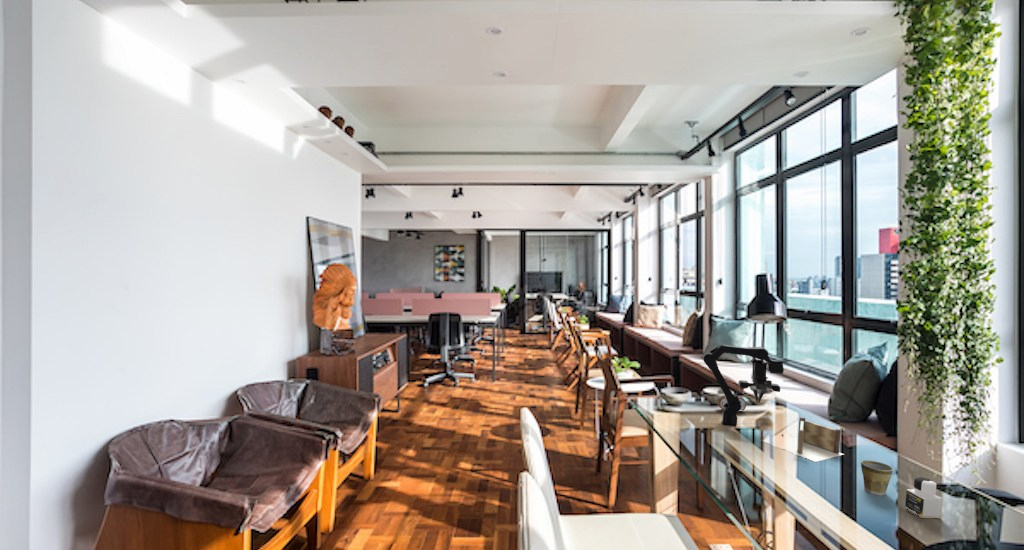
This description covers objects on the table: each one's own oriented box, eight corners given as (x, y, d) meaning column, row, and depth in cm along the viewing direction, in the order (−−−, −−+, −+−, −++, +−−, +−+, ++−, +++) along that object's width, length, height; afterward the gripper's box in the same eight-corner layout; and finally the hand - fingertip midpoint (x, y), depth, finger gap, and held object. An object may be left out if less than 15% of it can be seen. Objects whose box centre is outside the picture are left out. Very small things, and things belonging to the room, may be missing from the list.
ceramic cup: (892, 500, 192) (894, 473, 192) (859, 492, 197) (861, 466, 197) (889, 487, 203) (891, 462, 203) (858, 480, 208) (860, 455, 208)
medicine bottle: (904, 508, 186) (907, 475, 185) (923, 508, 186) (926, 475, 186) (921, 519, 179) (924, 484, 178) (941, 519, 179) (944, 484, 179)
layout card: (756, 440, 249) (757, 439, 249) (785, 434, 260) (785, 433, 260) (815, 462, 225) (815, 461, 225) (844, 455, 236) (844, 454, 236)
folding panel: (798, 440, 250) (799, 420, 250) (803, 441, 249) (804, 420, 249) (797, 452, 234) (798, 430, 234) (802, 453, 233) (804, 431, 233)
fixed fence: (796, 440, 252) (798, 417, 252) (799, 439, 253) (801, 416, 253) (837, 454, 236) (839, 429, 235) (840, 453, 237) (842, 429, 236)
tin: (744, 411, 299) (745, 396, 299) (746, 412, 296) (747, 397, 296) (717, 409, 301) (718, 394, 300) (718, 410, 297) (719, 395, 297)
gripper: (742, 373, 263) (740, 404, 263) (783, 377, 258) (781, 409, 258) (739, 369, 273) (737, 398, 274) (778, 373, 268) (776, 403, 269)
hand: (757, 402), depth 269 cm, fingers closed
